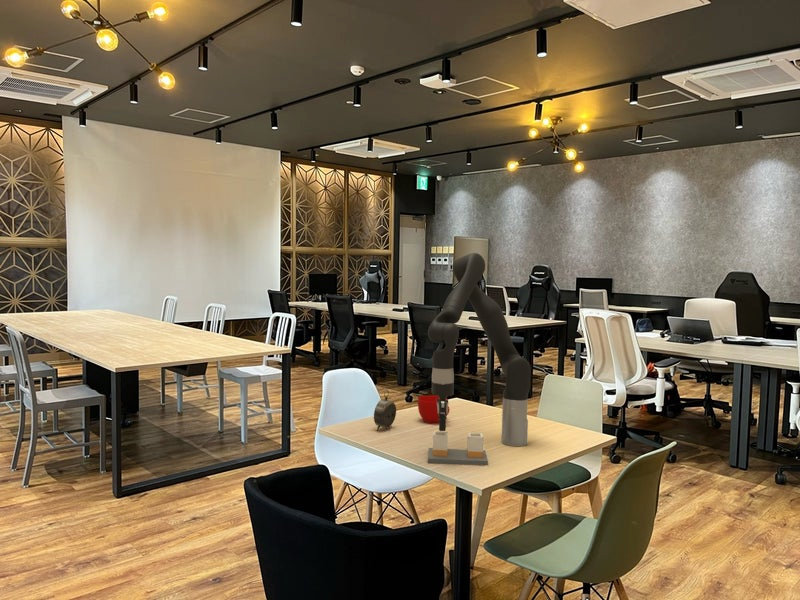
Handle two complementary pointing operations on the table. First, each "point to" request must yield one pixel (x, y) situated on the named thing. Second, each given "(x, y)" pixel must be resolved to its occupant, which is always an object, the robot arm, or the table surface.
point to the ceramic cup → (429, 408)
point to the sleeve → (440, 443)
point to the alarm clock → (384, 413)
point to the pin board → (463, 453)
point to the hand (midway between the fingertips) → (442, 427)
